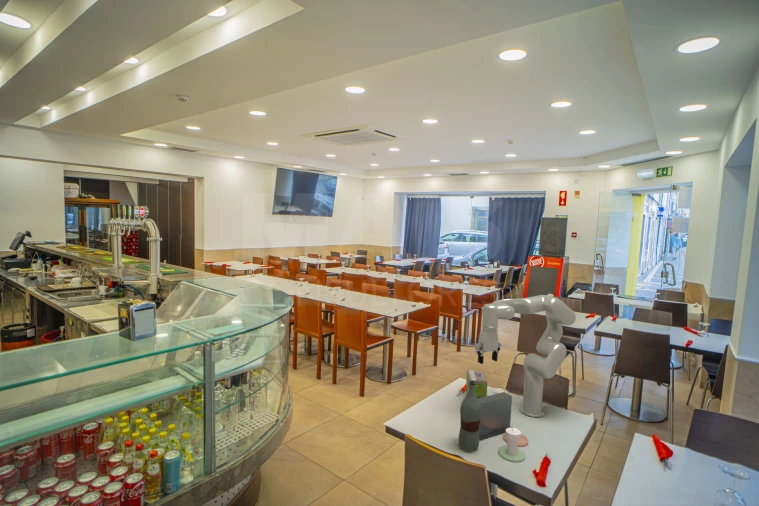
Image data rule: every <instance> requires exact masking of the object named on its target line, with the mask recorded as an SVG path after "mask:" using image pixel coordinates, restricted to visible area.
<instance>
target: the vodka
mask: <svg viewBox="0 0 759 506" xmlns="http://www.w3.org/2000/svg"><path fill="white" fill-rule="evenodd" d="M469 382H470V383H469V393H468V394H467V396H466V395H465V397H464V398H463V400H462V401H461V403H460V408H459V413H460V428H459V431H458V432H459V433H458V444H459V448H460V449H461V450H462V451H464V452H468V453H474V452H477V451H478V449H479V446H480V442H481V441H480V439H479V424H480V417H481V405H480V402H479V401H478V399H477V397H476V395H475V381H469Z"/></svg>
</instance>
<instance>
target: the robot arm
mask: <svg viewBox="0 0 759 506" xmlns="http://www.w3.org/2000/svg"><path fill="white" fill-rule="evenodd" d="M482 307H483V308H482V322H481V323H482V324H481V331H480V332H479V336H478V341H477V345H476V346H475V347H474V350H475V353H476V354H477V363H479V364H480V365H484V354H485V353H490V352H491V361H494V362H498V354H499V352H500V351H501V347H502V343H500V342H499V332H498V328H499V325H498V324H499V320H504V321H507V320H511V319H512V318H513V317H514V316H515V314H520V315H531V314H537V313H540V312H545V317H546V322H547V324H546V328H545V330H544V332H543V334H542V335H541V337H540V338H539V340H538V342H537V344H536V347H535V349H536V351H537V352H538V353H539V354H540V355H539V354H536V353H527V354H526V355H525V357H524V358H523V370H524V382H523V395H522V405H519V409H518V410H519V411H520V413H521V414H522V415H525V416H527V417H530V418H531V417H532V418H542V417H543V416H544V415H545V410H544V409H543V408H544V407H547V406H548V405H547V403H546V402H543V394H544V379H546V380H548V379H549V380H550V379H551V378H553V377H554V376H555V375H556V373H557V372H558V370H559V368H560V367H561V366H562V364H563V363H564V361H565V358H566V357H567V347H566V346H565V344H564V343H563V342H560V341H561V338H562V337H563V333H564V330H563V325H564V326H567V327H568V326H569V327H570V326H572V325H573V324H575V322H576V319H577V318H576V317H577V316H576V313H575V311H574V310H573V309H572V308H571V307H570V306H568V305H567V304H566V303H565V302H564V301H562V300H561V299H560V298H558V297H556V296H551V295H546V294H540V295H534V296H529V297H524V298H523V297H522V298H521V297H520V298H504V299H499V300H495V301H493V302H491V303H486V304H484V305H483V306H482ZM541 355H543V356H544V357H543V356H541Z"/></svg>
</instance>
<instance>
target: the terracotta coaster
mask: <svg viewBox="0 0 759 506" xmlns="http://www.w3.org/2000/svg"><path fill="white" fill-rule="evenodd" d="M502 438H503V441H504V442H505V443H506V444H507V434H506V433H504V434H503V437H502ZM528 444H529V439H528V437H526V436H525V435H524V434H523V433H521V436H520V439H519V444H518V448H524V447H527V446H528Z"/></svg>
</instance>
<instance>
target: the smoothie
mask: <svg viewBox="0 0 759 506" xmlns="http://www.w3.org/2000/svg"><path fill="white" fill-rule="evenodd" d="M511 427H512V428H507V429H506V434H507V443H506V446H507V449H508V453H509V454H511V455H516V454H517V449H518V448H519V447H518V444H519V439H520V436H521V434H522V432H521V430H520V429H518V428H516V427H514V421H513V420H512V421H511Z"/></svg>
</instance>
